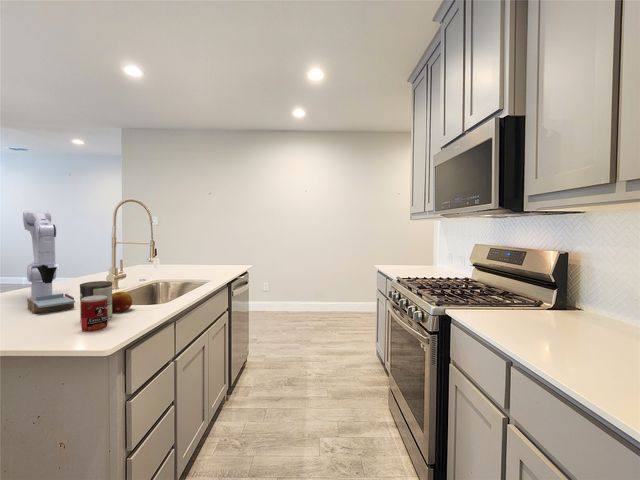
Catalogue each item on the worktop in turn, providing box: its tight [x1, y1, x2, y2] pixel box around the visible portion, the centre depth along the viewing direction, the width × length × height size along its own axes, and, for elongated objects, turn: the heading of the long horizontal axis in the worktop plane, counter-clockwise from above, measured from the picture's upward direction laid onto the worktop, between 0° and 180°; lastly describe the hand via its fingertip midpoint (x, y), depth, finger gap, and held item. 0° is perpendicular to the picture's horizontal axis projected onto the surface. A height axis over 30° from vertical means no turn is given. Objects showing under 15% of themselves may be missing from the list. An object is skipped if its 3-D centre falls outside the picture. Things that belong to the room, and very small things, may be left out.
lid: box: [33, 293, 76, 308], centre depth 132 cm, size 12×12×2 cm
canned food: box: [80, 295, 109, 333], centre depth 110 cm, size 8×8×11 cm
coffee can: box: [79, 280, 113, 323], centre depth 120 cm, size 10×10×14 cm
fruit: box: [112, 291, 133, 313], centre depth 132 cm, size 10×9×8 cm
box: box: [27, 293, 75, 315], centre depth 134 cm, size 12×13×4 cm
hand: (47, 282), depth 137 cm, fingers open, 3 cm apart
